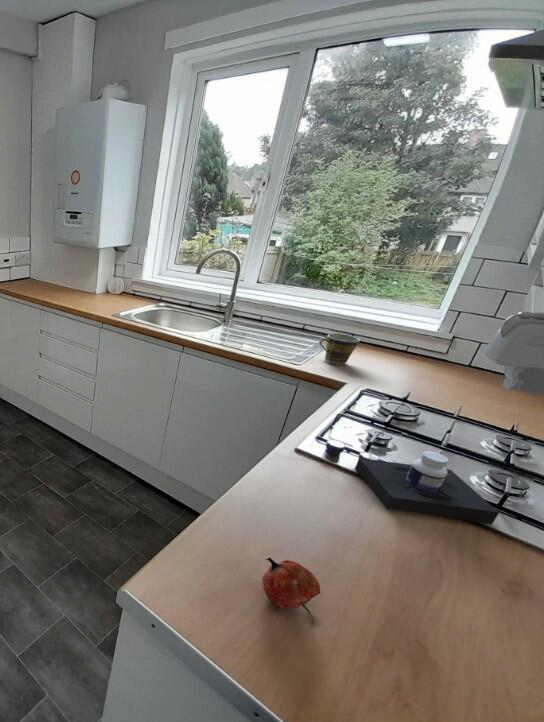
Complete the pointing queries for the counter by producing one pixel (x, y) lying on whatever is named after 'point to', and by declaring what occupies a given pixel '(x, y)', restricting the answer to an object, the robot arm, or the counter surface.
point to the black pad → (424, 493)
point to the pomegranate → (289, 584)
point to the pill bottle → (428, 471)
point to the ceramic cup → (339, 348)
